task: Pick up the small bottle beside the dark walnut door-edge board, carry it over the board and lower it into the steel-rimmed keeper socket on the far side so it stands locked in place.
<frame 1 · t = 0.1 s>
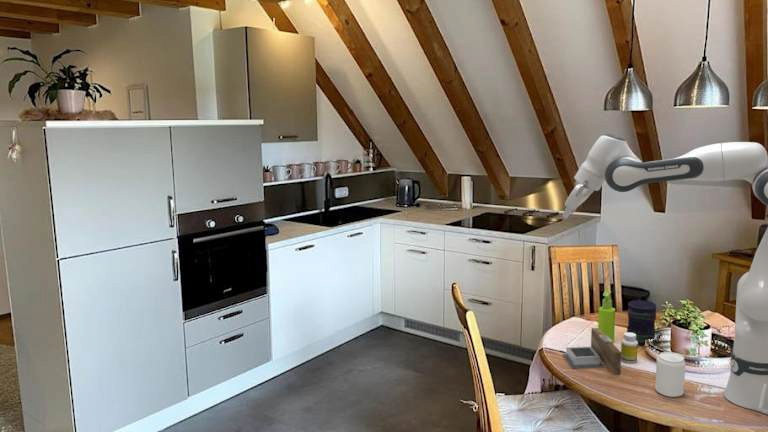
hand: (567, 214, 196), 54 cm above the table, tool tilted 30°, fingers open, 8 cm apart
storage jar: (640, 341, 225), on the table
supplement bottle: (628, 360, 209), on the table
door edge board: (604, 360, 209), on the table
keeper socket: (582, 361, 210), on the table
soap dispenser: (605, 341, 226), on the table
white lidded canister: (669, 392, 186), on the table
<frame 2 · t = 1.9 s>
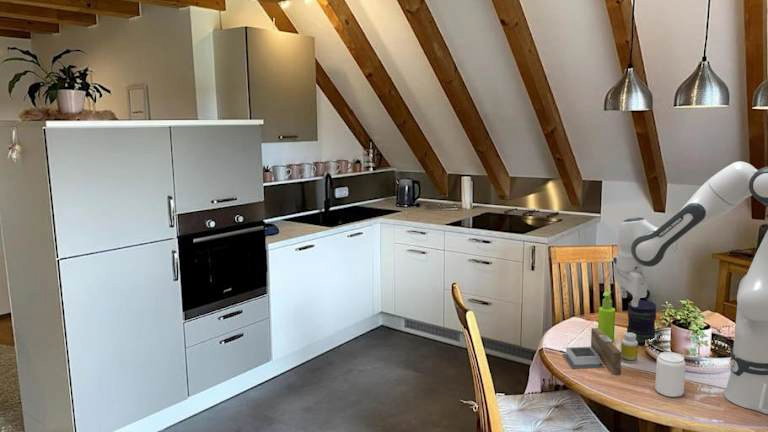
hand: (628, 301, 206), 22 cm above the table, tool pointing down, fingers open, 8 cm apart
nothing on the table moved.
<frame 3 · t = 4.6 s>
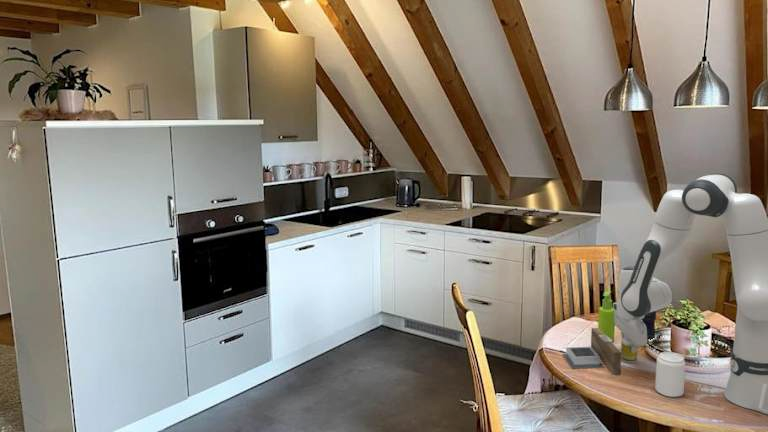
hand: (629, 347, 209), 5 cm above the table, tool pointing down, fingers closed on supplement bottle, 5 cm apart
supplement bottle: (628, 360, 209), on the table, touching gripper
everything else where it was.
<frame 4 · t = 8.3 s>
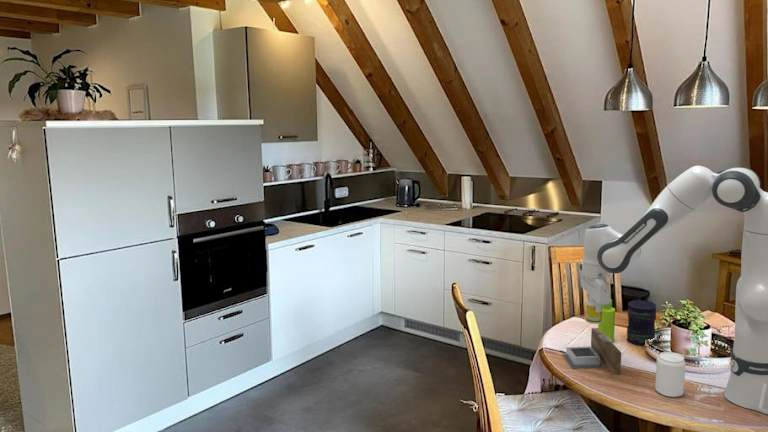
hand: (594, 308, 206), 20 cm above the table, tool pointing down, fingers closed on supplement bottle, 5 cm apart
supplement bottle: (593, 322, 207), point 15 cm above the table, touching gripper
everything else where it was.
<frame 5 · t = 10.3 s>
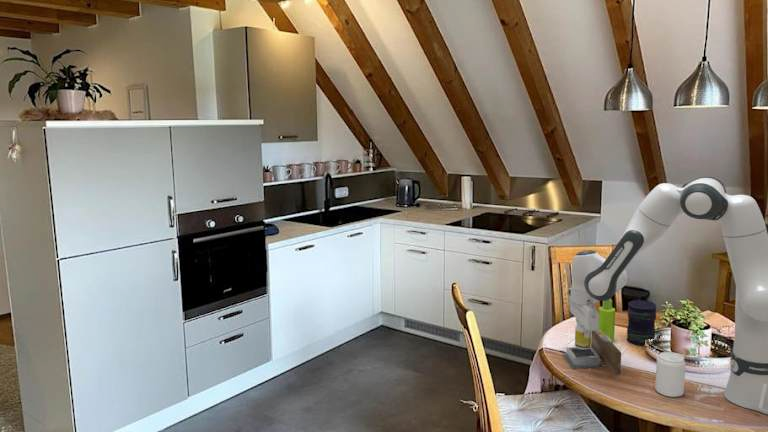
hand: (583, 333, 208), 11 cm above the table, tool pointing down, fingers closed on supplement bottle, 5 cm apart
supplement bottle: (582, 347, 208), point 5 cm above the table, touching gripper
everything else where it was.
when the fingers open (6 cm above the table, at t = 11.9 s): supplement bottle stays where it is, resting on keeper socket.
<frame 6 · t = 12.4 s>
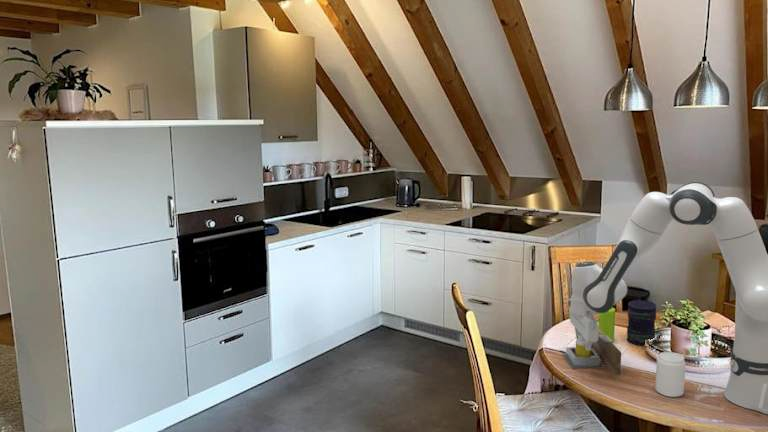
hand: (583, 344, 208), 7 cm above the table, tool pointing down, fingers open, 8 cm apart
supplement bottle: (583, 360, 209), resting on keeper socket
everything else where it was.
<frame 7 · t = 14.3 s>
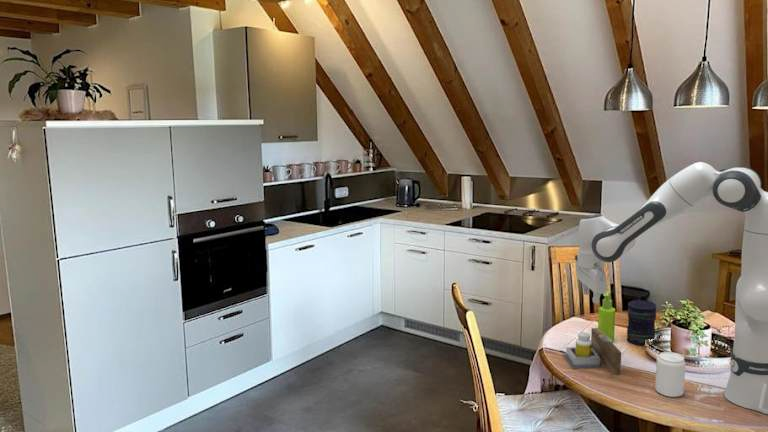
hand: (590, 298, 207), 23 cm above the table, tool pointing down, fingers open, 8 cm apart
nothing on the table moved.
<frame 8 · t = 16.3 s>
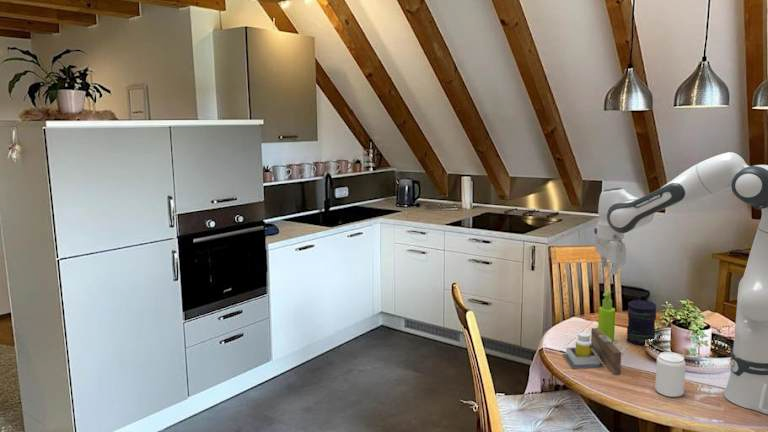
hand: (609, 270, 212), 31 cm above the table, tool pointing down, fingers open, 8 cm apart
nothing on the table moved.
at the end: supplement bottle 0.2 cm off-centre on the keeper socket, point 0.4 cm above the keeper socket's base; supplement bottle tilted 0°; the gripper is holding nothing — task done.
